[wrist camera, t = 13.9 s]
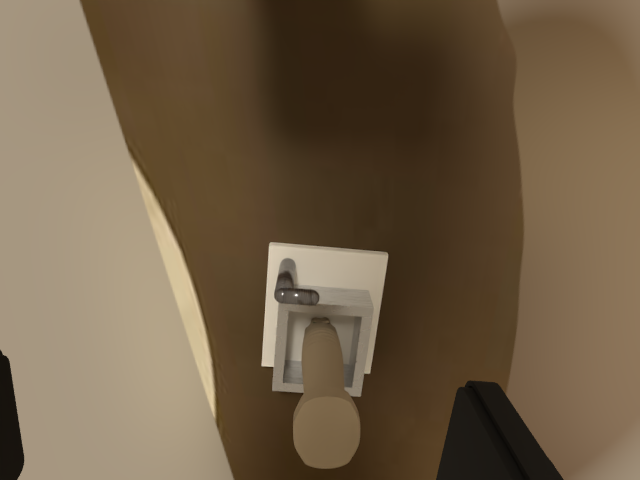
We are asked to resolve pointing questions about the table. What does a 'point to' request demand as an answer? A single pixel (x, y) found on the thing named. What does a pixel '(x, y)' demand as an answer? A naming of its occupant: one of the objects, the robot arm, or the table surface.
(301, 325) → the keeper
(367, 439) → the table surface
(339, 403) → the handle
